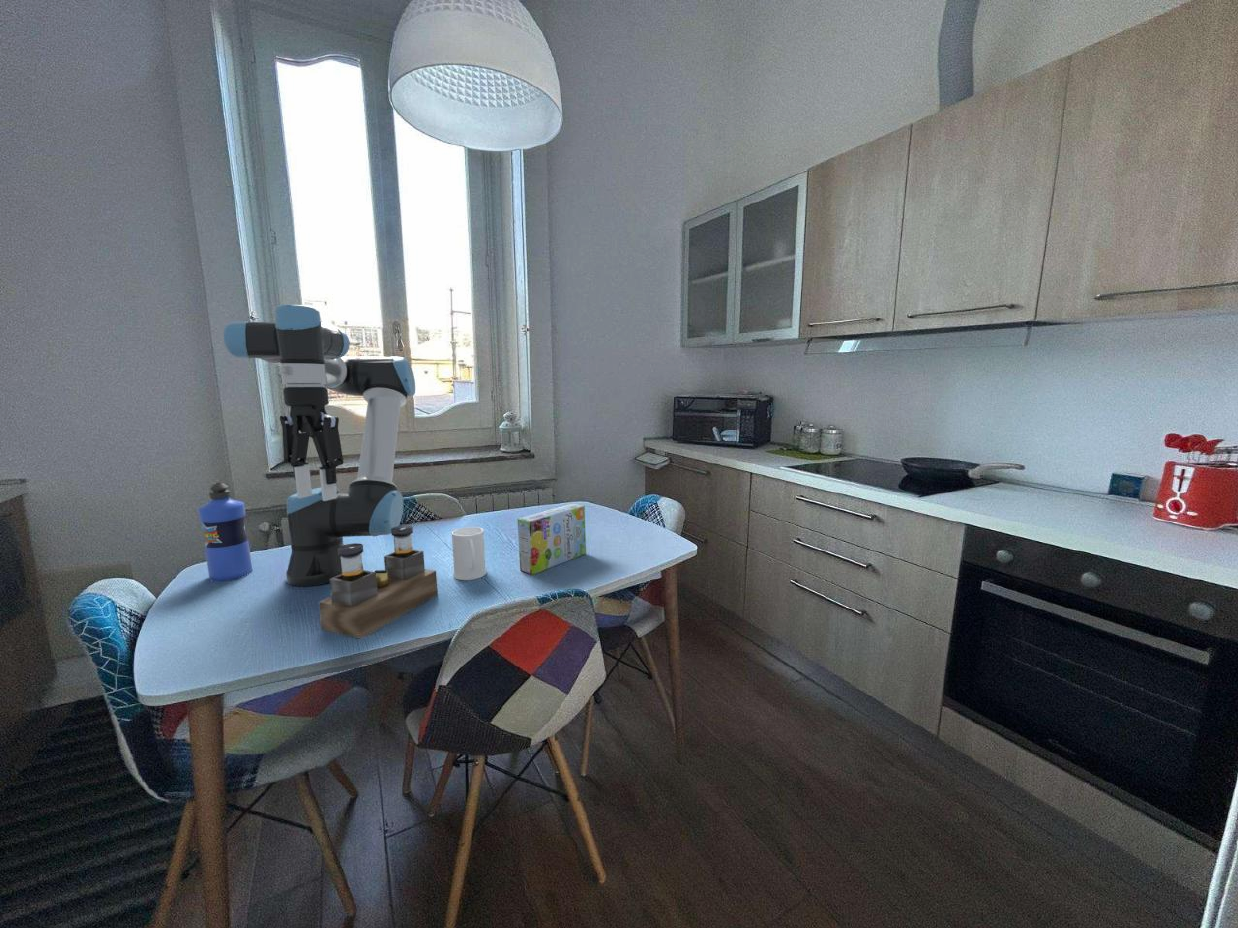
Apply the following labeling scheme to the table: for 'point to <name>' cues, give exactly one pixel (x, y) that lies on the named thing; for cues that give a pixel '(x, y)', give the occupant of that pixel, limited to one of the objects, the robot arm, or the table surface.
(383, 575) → the screw
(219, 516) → the water bottle
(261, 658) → the table surface
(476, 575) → the mug
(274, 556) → the table surface
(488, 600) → the table surface
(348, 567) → the knob near
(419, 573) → the mount
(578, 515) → the snack box
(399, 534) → the knob far
